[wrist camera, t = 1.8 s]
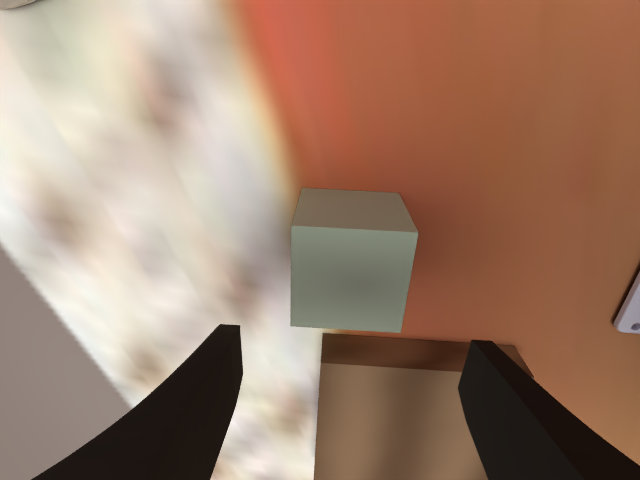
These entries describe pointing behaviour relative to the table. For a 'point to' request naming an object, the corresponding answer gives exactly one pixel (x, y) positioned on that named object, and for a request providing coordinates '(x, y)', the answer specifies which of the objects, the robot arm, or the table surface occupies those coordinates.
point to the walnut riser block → (394, 410)
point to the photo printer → (13, 3)
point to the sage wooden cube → (351, 260)
